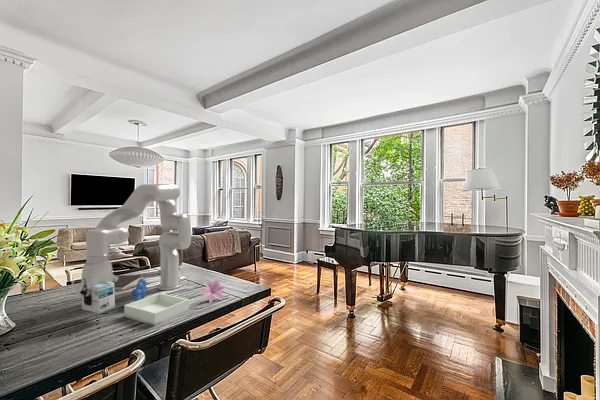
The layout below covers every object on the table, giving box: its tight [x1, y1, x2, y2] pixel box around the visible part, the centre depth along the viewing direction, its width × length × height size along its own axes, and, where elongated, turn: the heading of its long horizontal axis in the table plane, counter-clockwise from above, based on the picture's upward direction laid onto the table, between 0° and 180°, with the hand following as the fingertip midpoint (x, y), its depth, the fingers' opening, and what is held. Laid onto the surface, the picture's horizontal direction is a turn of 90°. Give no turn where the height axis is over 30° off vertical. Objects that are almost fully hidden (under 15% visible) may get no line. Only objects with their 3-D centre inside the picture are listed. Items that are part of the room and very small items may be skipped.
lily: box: [199, 277, 226, 303], centre depth 139 cm, size 12×12×10 cm
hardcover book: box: [114, 274, 144, 291], centre depth 162 cm, size 16×23×2 cm
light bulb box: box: [81, 282, 116, 314], centre depth 113 cm, size 11×7×11 cm, turn 71°
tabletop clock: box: [158, 249, 184, 271], centre depth 189 cm, size 14×9×25 cm, turn 123°
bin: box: [123, 292, 190, 327], centre depth 121 cm, size 17×19×5 cm
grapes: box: [130, 278, 148, 302], centre depth 131 cm, size 12×7×12 cm, turn 14°
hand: (98, 301), depth 114 cm, fingers closed on light bulb box, 7 cm apart
